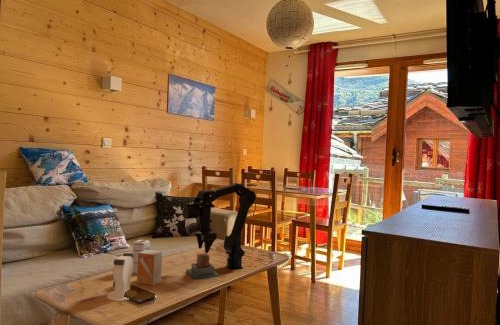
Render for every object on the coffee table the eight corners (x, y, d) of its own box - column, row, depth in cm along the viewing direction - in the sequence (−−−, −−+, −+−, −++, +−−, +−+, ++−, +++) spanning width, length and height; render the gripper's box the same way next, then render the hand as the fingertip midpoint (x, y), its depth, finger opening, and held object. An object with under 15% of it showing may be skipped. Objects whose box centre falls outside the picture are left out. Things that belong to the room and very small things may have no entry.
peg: (205, 270, 173) (206, 253, 173) (208, 273, 169) (209, 255, 169) (196, 271, 171) (197, 254, 171) (199, 273, 167) (200, 256, 167)
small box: (136, 283, 154) (137, 252, 154) (145, 278, 160) (146, 249, 160) (153, 285, 152) (154, 254, 152) (161, 281, 158) (162, 251, 158)
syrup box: (143, 274, 166) (144, 242, 166) (131, 273, 167) (132, 241, 167) (149, 270, 171) (150, 240, 171) (138, 269, 172) (139, 238, 172)
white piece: (114, 288, 147) (115, 251, 147) (142, 290, 147) (143, 252, 147) (101, 300, 135) (102, 259, 135) (131, 301, 135) (133, 261, 135)
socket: (210, 268, 178) (210, 260, 178) (219, 276, 167) (219, 267, 167) (186, 271, 173) (186, 262, 172) (193, 279, 162) (194, 270, 162)
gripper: (182, 214, 174) (180, 247, 174) (193, 221, 157) (192, 257, 158) (204, 214, 179) (203, 245, 179) (217, 220, 162) (216, 255, 163)
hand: (203, 250), depth 170 cm, fingers open, 9 cm apart
